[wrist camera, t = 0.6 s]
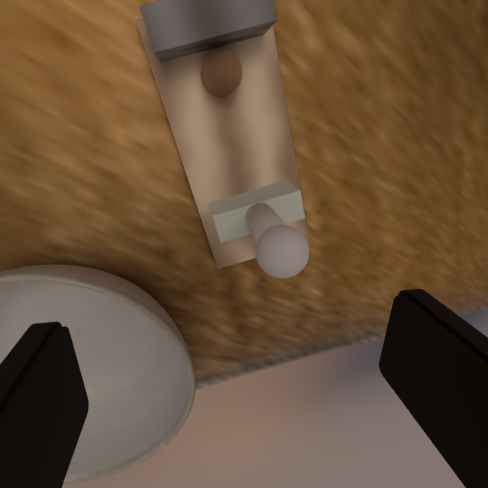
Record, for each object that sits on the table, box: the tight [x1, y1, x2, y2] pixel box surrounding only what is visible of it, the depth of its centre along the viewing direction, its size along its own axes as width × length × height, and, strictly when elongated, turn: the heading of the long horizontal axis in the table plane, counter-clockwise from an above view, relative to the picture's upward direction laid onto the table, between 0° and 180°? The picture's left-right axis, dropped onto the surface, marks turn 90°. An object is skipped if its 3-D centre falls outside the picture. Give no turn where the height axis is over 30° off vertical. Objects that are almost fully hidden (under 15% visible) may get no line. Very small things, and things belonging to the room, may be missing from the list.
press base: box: [136, 0, 310, 269], centre depth 31 cm, size 12×26×7 cm, turn 14°
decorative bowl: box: [0, 265, 195, 484], centre depth 34 cm, size 27×27×12 cm
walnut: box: [201, 48, 242, 97], centre depth 28 cm, size 4×4×3 cm
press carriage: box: [210, 180, 309, 278], centre depth 28 cm, size 9×4×15 cm, turn 104°
